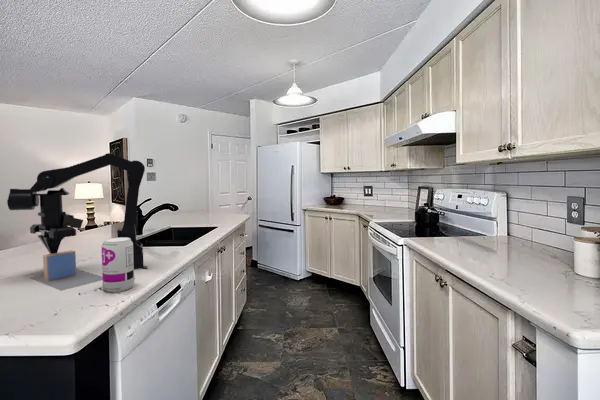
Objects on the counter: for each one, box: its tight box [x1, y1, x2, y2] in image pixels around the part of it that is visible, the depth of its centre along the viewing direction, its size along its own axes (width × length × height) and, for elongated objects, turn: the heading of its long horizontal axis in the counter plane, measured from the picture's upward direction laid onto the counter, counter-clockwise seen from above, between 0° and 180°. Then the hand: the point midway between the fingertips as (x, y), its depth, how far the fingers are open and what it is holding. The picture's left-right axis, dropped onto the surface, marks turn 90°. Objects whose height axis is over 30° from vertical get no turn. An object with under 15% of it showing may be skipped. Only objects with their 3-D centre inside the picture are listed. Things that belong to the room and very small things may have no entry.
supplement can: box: [101, 236, 135, 293], centre depth 95 cm, size 8×8×15 cm
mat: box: [29, 268, 103, 291], centre depth 102 cm, size 22×13×1 cm, turn 59°
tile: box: [42, 249, 77, 281], centre depth 102 cm, size 3×8×8 cm, turn 149°
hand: (53, 256), depth 104 cm, fingers closed
